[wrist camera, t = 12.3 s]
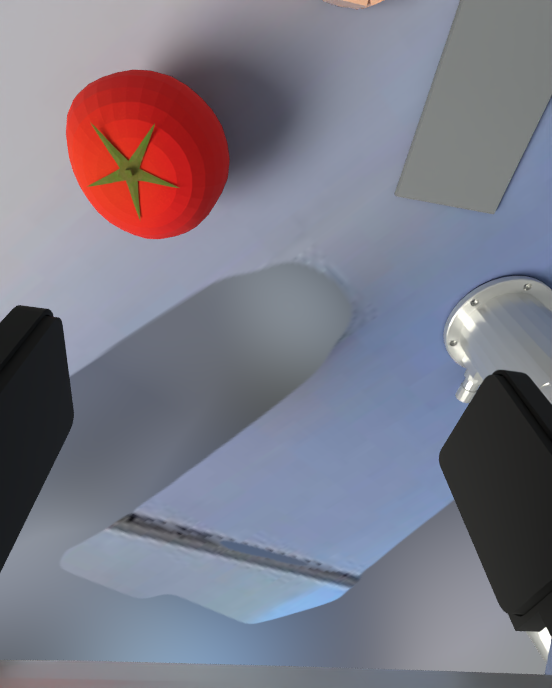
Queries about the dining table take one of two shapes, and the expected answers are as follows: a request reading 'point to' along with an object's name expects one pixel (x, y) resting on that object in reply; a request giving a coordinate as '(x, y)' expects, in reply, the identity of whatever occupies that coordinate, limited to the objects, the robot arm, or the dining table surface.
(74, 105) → the tomato
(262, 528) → the dining table surface
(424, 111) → the mat
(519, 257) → the dining table surface
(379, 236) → the dining table surface
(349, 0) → the bowl
